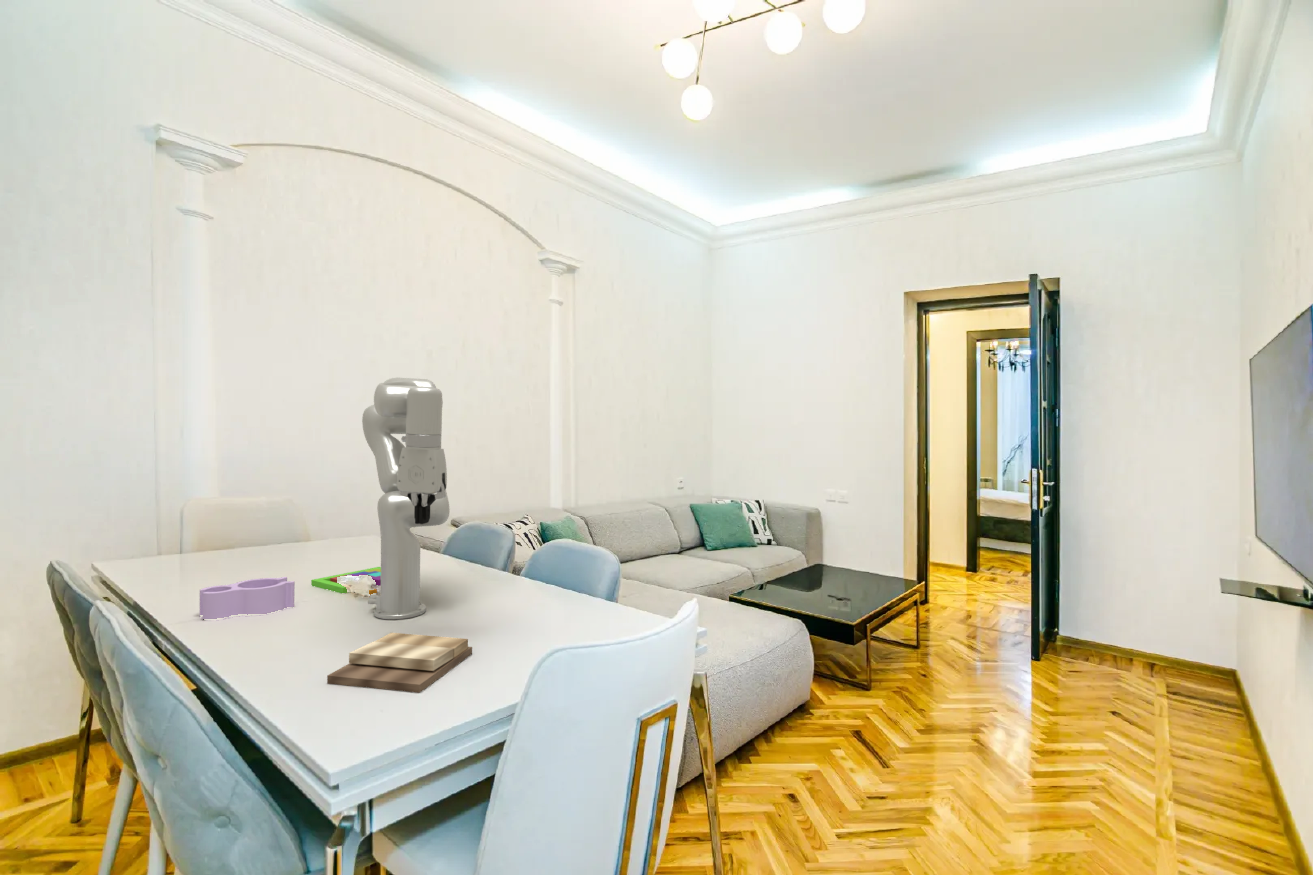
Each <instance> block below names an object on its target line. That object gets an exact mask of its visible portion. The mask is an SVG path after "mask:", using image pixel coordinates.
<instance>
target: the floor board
mask: <svg viewBox="0 0 1313 875" xmlns="http://www.w3.org/2000/svg"><path fill="white" fill-rule="evenodd" d="M374 641H375V642H387V643H398V644H410V645H422V646H433V647H445V648H454V655H453V659H451V660H450V661H448V662H446V663H445V664H443V665H442V666H440V667H439V668H437V669H435V670H434V671H429V670H419V669H408V668H397V667H386V666H376V665H365V664H354V663H349V662H348V663H347V664H346V665H343V667H340V668H339V669H337V670H335V671H333V672H331V673H329V674H327V677H326V678H327V679H326V684H327V685H328V684H329V685H338V686H339V685H341V686H348V687H349V686H350V687H358V688H359V687H360V688H367V689H368V688H370V689H379V690H388V691H397V692H398V691H399V692H407V693H419V694H420V693H422V691H424V690H425V689H427V688H428V687H429V686H431V685H432V684H433V683H435V682H436V681H438V680H439V679H440V678H442V677H443V676H444V675H445V674H447V673H449V672H450V671H451V670H452V669H454V668H455V667H457V666H458V665H459V664H460V663H462V662H463V661H464V660H466V659H467V658H468V657H470V656H472V654H473V647H472V646H469V639H468V638H461V637H447V636H439V635H438V636H437V635H436V636H435V635H427V634H426V635H425V634H413V633H402V632H390V633H388V634H386V635H384V636H382V637H380V638H378V639H376V640H374Z"/></svg>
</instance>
